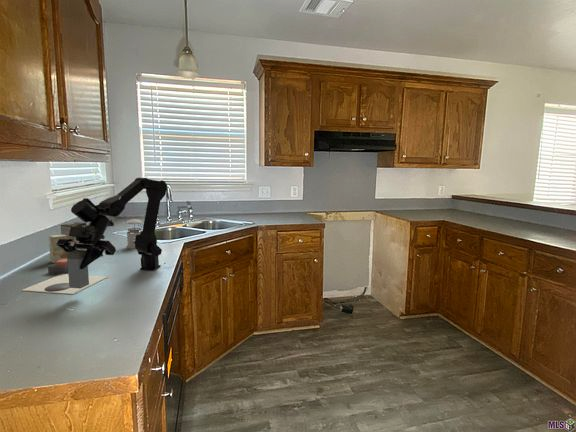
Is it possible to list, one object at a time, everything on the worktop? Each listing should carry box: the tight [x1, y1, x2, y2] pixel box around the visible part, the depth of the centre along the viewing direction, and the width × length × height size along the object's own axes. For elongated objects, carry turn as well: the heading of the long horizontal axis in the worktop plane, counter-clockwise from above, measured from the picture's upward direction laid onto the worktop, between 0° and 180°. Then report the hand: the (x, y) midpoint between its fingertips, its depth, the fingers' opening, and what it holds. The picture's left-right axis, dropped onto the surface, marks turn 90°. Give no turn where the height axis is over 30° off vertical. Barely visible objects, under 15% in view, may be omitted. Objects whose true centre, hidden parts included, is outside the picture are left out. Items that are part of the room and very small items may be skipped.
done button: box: [54, 259, 68, 266], centre depth 138 cm, size 4×4×3 cm
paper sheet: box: [21, 274, 108, 295], centre depth 124 cm, size 20×18×1 cm
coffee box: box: [60, 221, 88, 251], centre depth 160 cm, size 9×6×16 cm
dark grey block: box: [67, 250, 90, 289], centre depth 110 cm, size 4×4×12 cm
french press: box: [125, 201, 144, 249], centre depth 181 cm, size 10×12×25 cm
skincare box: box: [48, 234, 67, 264], centre depth 151 cm, size 6×4×12 cm
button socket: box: [47, 263, 68, 275], centre depth 138 cm, size 8×8×3 cm
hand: (74, 268), depth 109 cm, fingers closed on dark grey block, 4 cm apart
